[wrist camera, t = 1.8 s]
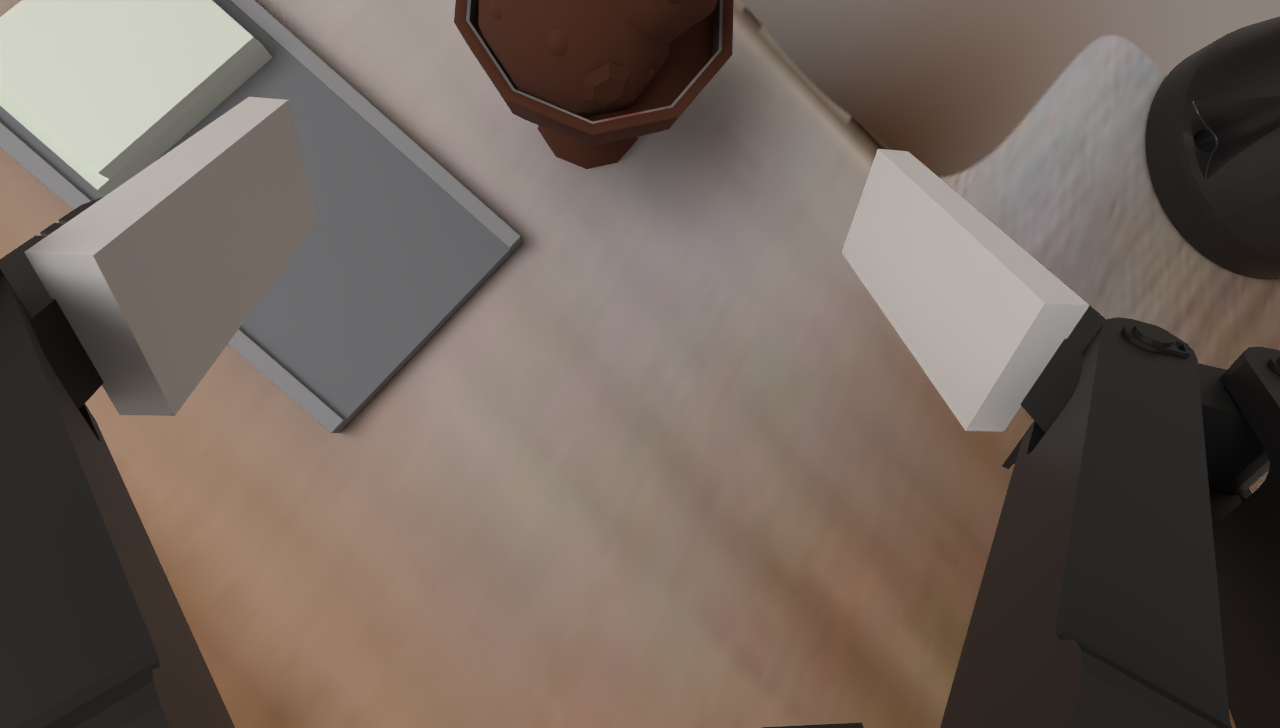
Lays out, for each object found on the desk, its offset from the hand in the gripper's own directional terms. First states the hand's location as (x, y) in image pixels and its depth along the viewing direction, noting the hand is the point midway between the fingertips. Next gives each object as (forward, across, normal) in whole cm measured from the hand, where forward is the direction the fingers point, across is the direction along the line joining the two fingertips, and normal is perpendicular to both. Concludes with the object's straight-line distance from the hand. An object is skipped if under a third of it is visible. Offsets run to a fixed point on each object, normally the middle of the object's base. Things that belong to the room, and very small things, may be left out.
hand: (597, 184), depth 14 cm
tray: (+17, -16, -8) cm, 25 cm away
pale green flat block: (+20, -22, -5) cm, 30 cm away
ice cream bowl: (+20, 0, -5) cm, 21 cm away
